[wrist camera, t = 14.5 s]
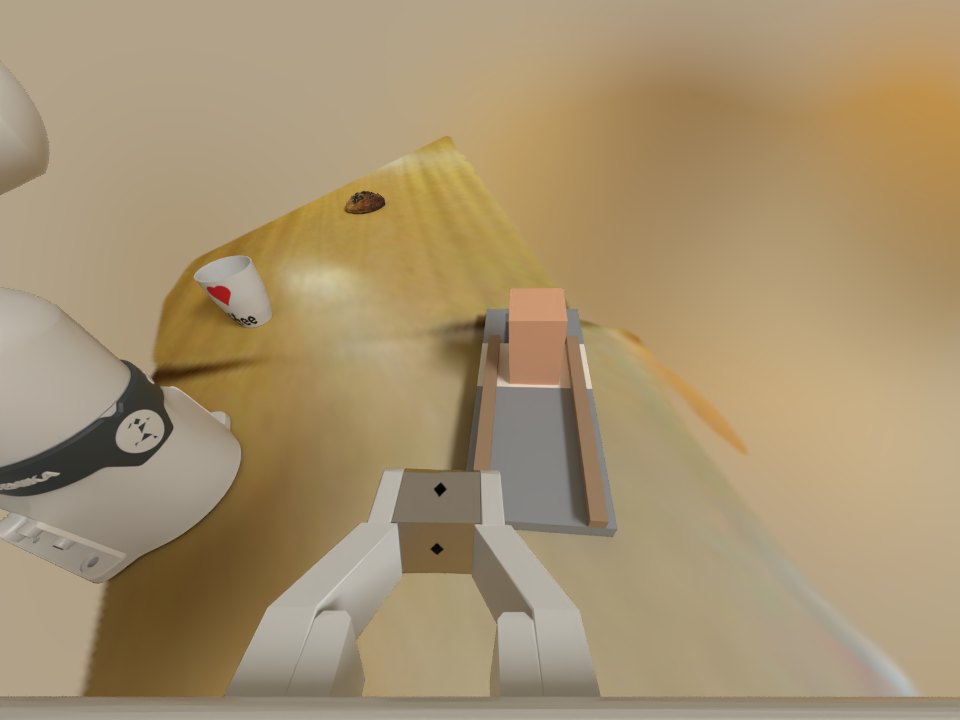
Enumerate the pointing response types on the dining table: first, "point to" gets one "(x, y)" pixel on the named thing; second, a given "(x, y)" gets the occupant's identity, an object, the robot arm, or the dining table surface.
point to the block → (536, 335)
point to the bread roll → (364, 202)
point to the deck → (541, 439)
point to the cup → (236, 290)
